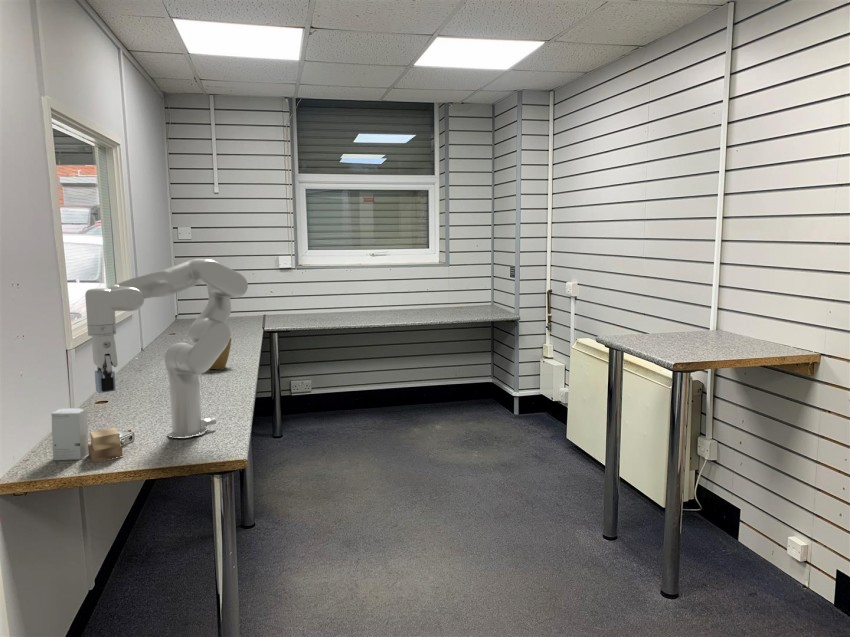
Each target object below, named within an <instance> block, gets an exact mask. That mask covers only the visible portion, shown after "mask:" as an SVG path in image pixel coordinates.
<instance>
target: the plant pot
mask: <svg viewBox="0 0 850 637" xmlns="http://www.w3.org/2000/svg"><path fill="white" fill-rule="evenodd" d="M231 346H232V336H230V340H229V343H228V345H227V346H226V348H225V349H224V350H223V352H222V353H221V354H220V356H219V357H218V358H217V360H216V361H215V362H214V364H213V365H212V366H211V367H210V368H209V370H211V369H220V370H224V369H225V368H226V365H227V362H228V359H229V355H230V350H231ZM223 368H224V369H223Z"/></svg>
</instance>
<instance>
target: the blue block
mask: <svg viewBox="0 0 850 637" xmlns="http://www.w3.org/2000/svg"><path fill="white" fill-rule="evenodd" d="M104 372H105V370H104ZM112 372H113V382H114V390H111V391H104V392H103V391H102V386H101V378H102V372H101V370H99V371H97V370H94V378H95V379H94V382H95V391H96V392H97V393H98V394H103V393H110V392H116V390H117V388H116V376H115V374H116V373H115V370H113V369H112Z"/></svg>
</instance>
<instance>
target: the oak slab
mask: <svg viewBox="0 0 850 637" xmlns="http://www.w3.org/2000/svg"><path fill="white" fill-rule="evenodd" d="M89 436H90V444H91V445H92V447H93V449H94V451H96V450H101V449H107V448H112V447H117V446H120V444H121V438H120V437H121V436H120V432H119V431H118V429H117V428H116V427H110V428H105V429H100V430H93V431H90V435H89Z"/></svg>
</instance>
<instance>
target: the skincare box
mask: <svg viewBox="0 0 850 637" xmlns="http://www.w3.org/2000/svg"><path fill="white" fill-rule="evenodd" d="M88 428H89V426H88V409H87V408H76V407H73V408H59V409H57V410H55V411H53V412H51V436H52V440H51V441H52V459H53V461H67V460H69V461H70V460H71V461H72V460H74V461H75V460H77V461H78V460H82V459H83V458H84V457H86V456H87V455H89V451H88V444H89V435H88V434H89V431H88V430H89V429H88Z"/></svg>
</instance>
